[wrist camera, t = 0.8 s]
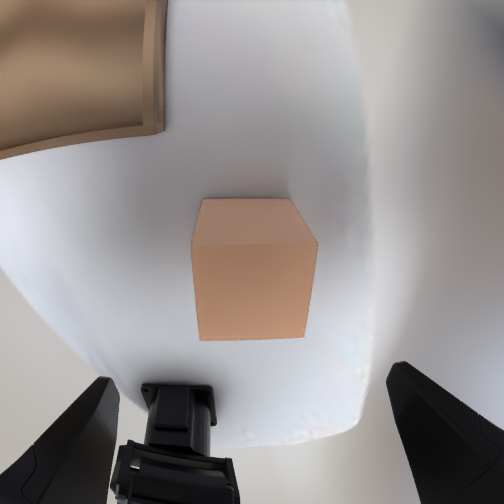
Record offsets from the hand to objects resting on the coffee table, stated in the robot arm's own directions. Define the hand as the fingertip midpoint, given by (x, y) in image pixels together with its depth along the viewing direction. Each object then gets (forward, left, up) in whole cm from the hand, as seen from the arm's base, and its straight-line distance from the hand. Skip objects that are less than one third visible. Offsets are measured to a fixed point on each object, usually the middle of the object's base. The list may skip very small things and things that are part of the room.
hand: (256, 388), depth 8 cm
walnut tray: (+14, +12, -11) cm, 21 cm away
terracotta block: (0, 0, -11) cm, 11 cm away
